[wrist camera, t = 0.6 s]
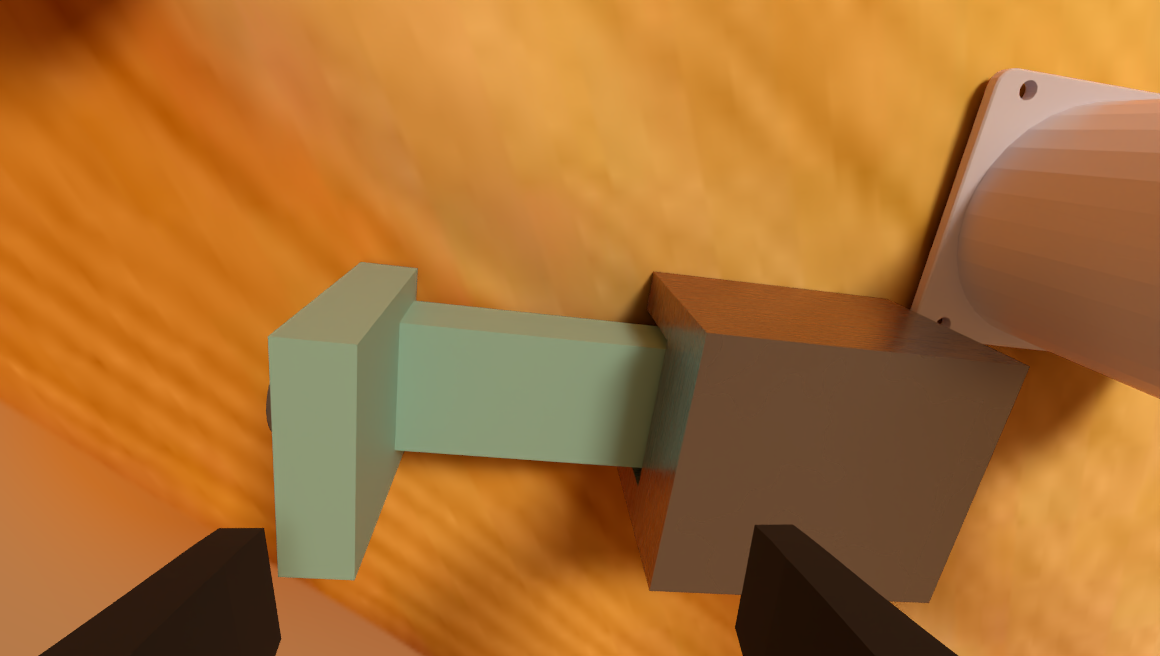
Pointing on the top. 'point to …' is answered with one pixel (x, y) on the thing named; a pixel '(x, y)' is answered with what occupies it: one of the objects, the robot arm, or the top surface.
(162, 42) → the top surface
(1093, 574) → the top surface
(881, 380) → the block
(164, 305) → the top surface
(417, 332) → the handle
